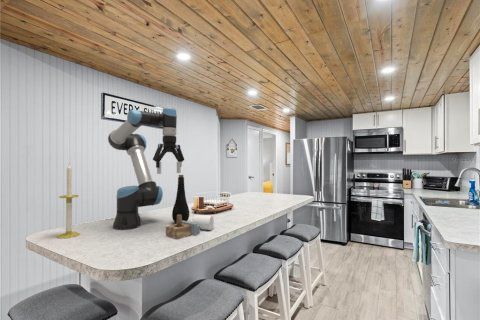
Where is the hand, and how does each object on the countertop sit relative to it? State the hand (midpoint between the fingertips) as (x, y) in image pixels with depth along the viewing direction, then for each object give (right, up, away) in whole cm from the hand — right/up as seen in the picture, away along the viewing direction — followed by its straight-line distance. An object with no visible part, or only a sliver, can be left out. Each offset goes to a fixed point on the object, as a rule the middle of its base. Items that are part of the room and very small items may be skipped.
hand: (169, 173), depth 143 cm
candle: (-48, -32, -12) cm, 59 cm away
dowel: (+8, -31, -11) cm, 34 cm away
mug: (+19, -32, +3) cm, 38 cm away
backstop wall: (+12, -32, -5) cm, 34 cm away
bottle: (+3, -32, +15) cm, 35 cm away
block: (+8, -32, -11) cm, 35 cm away
